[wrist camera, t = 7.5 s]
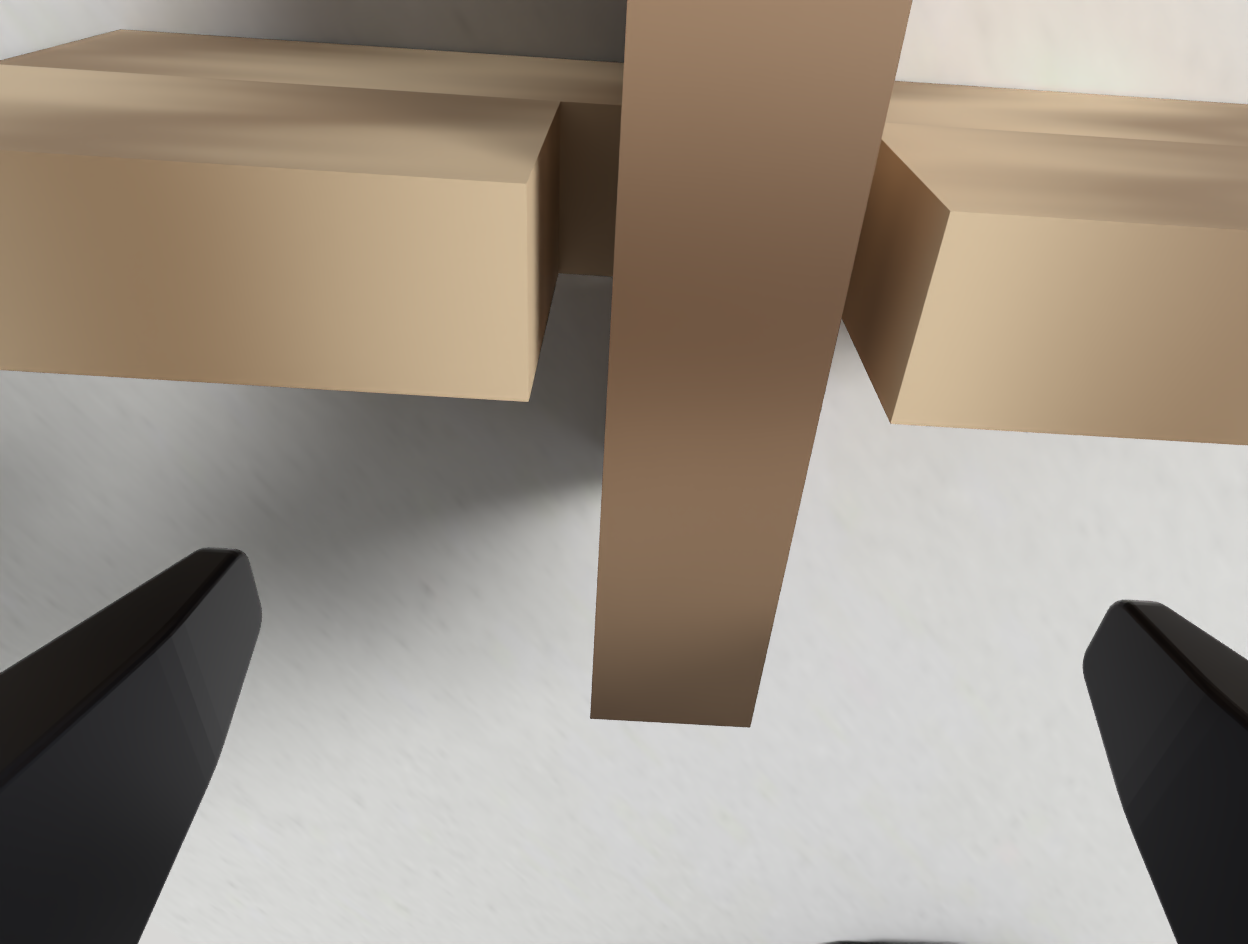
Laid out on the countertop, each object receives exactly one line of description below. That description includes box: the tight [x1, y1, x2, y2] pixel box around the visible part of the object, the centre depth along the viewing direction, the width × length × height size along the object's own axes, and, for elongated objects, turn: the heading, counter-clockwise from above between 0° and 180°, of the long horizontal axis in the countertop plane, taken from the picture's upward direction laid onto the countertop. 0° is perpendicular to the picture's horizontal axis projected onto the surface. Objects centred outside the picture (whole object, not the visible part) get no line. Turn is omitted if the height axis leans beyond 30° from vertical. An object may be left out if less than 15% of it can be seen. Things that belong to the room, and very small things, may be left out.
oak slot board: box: [0, 29, 1248, 445], centre depth 10 cm, size 16×2×6 cm, turn 87°
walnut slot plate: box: [590, 0, 912, 727], centre depth 10 cm, size 10×2×6 cm, turn 177°
